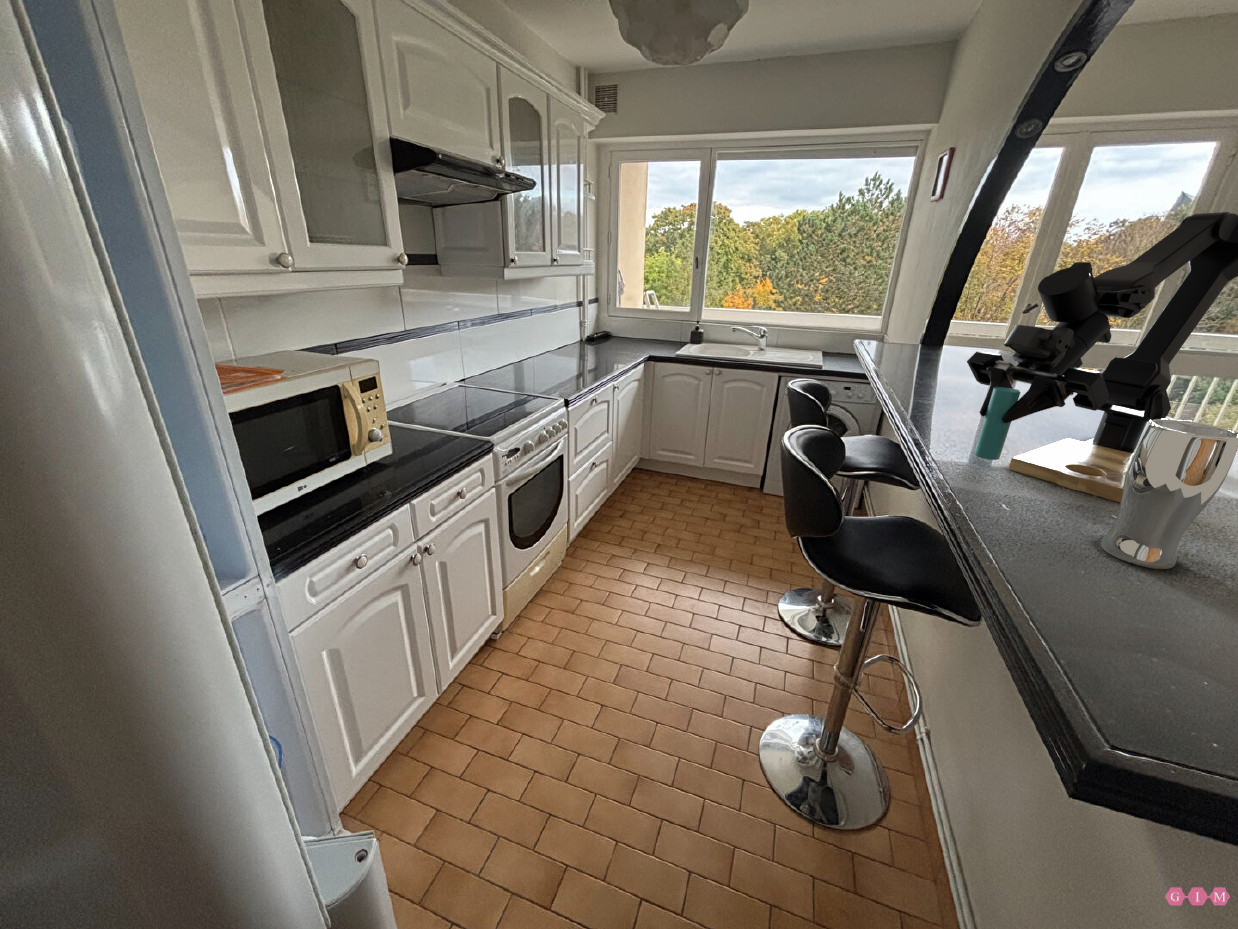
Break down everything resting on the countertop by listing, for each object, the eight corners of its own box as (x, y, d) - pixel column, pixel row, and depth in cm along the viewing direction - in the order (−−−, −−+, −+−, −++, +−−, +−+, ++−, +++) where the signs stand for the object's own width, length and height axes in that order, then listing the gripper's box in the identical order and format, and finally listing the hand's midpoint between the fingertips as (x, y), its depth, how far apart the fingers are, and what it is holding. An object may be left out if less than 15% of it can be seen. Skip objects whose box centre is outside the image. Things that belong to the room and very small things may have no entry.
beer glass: (1198, 576, 53) (1269, 441, 48) (1121, 567, 54) (1181, 435, 49) (1148, 542, 59) (1205, 420, 54) (1081, 535, 61) (1129, 416, 55)
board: (1063, 448, 90) (1067, 438, 89) (1171, 476, 79) (1177, 464, 78) (1006, 469, 80) (1010, 457, 80) (1120, 504, 69) (1126, 490, 68)
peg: (980, 451, 84) (1000, 386, 80) (1003, 457, 81) (1025, 390, 77) (970, 454, 82) (989, 388, 78) (992, 461, 80) (1014, 393, 76)
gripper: (991, 300, 82) (922, 371, 84) (1127, 311, 66) (1039, 399, 67) (1012, 348, 88) (947, 413, 89) (1143, 368, 71) (1061, 449, 72)
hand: (992, 417), depth 79 cm, fingers closed on peg, 3 cm apart
